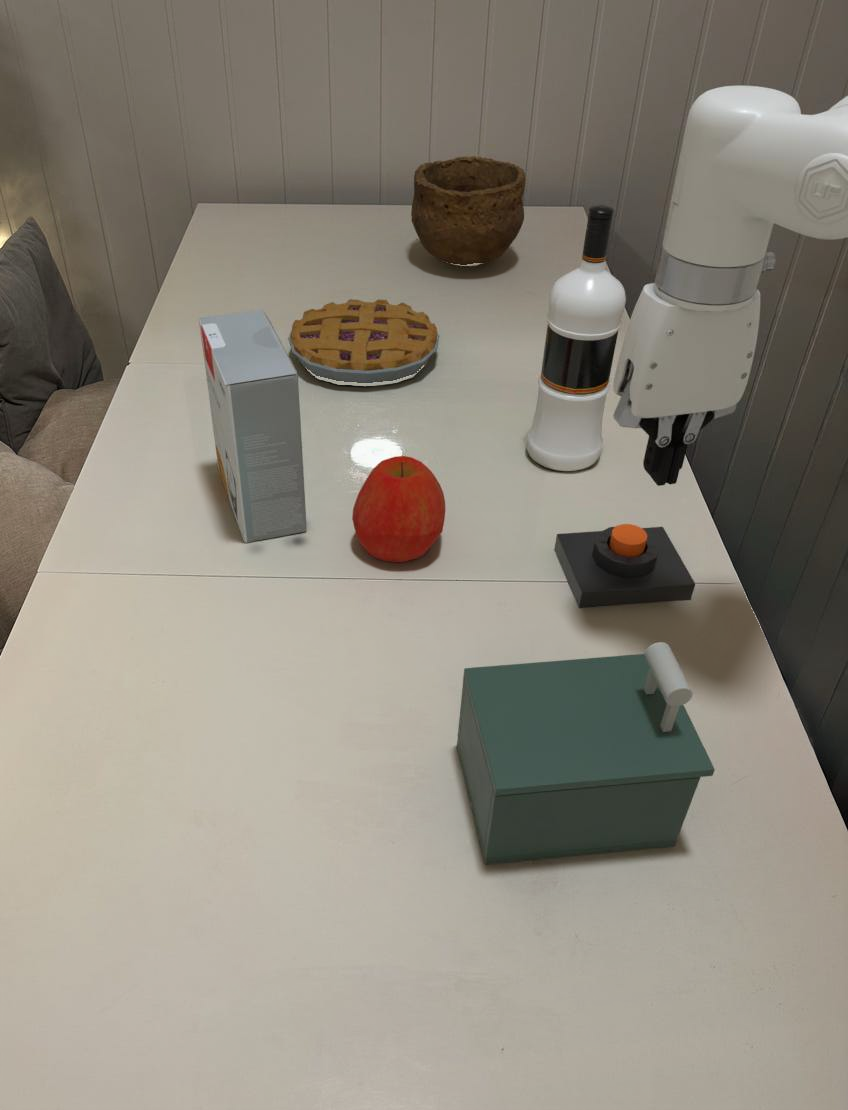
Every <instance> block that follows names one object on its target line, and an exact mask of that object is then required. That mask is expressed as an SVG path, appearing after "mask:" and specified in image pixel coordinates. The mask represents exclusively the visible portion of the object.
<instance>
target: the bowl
mask: <svg viewBox="0 0 848 1110" xmlns="http://www.w3.org/2000/svg"><path fill="white" fill-rule="evenodd" d="M413 176H414V177H413V199H412V203H411V210H410V211H411V215H410V217H411V223H412V226H413V228H414V230H415V233H416V235H417V237H418V239H419V241H420V244H421V246H422V247H423V248H424V250H425V251H426V252H427V253H428V254H429V255H431V256H432V257H434V258H435V259H437V260H439V261H441V262H443V261H444V262H443V263H446V262H448V263H447V264H449V263H453V264H460V265H467V264H473V263H485V264H488V263H490V261H491V262H494V261H495V260H497V259H499V258H500V257H502V256H503V255H504V254H505V253H506V251H507V250H508V249H509V248H510V246H511V245H512V244H513V242H514V241H515V239H516V238H517V236H518V235H519V233H520V230H521V229H522V227H523V224H524V221H525V209H524V203H523V195H524V193H525V188H526V173H525V169H523V168H522V167H521V166H519V165H516V164H514V163H511V162H509V161H499V160H495V159H493V158H487V157H482V156H475V155H472V156H457V157H455V158H452V159H447V160H444V161H443V160H435V161H433V162H431V161H429V162H424V163H422V164H420V165H419V166H418V167H417V168H416V169H415V171H414V175H413ZM487 262H488V263H487Z"/></svg>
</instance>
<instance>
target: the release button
mask: <svg viewBox="0 0 848 1110" xmlns="http://www.w3.org/2000/svg"><path fill="white" fill-rule="evenodd" d="M614 527H615V528H614V529H613V530H612V534H611V539H610V543H609V547H610V549H611V551H613V552H614V553H616V554H617V555H621V556H625V557H638V556H640V555H641V554H642V553H643V552H644V549H645V545H646V541H647V533H646V532H645V531H644V530H643V529H642V528H643V527H640V526H639V525H635V524H631V523H622V524H618V525H616V526H614Z"/></svg>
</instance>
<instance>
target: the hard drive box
mask: <svg viewBox="0 0 848 1110" xmlns="http://www.w3.org/2000/svg"><path fill="white" fill-rule="evenodd" d="M197 321H198V325H199V332H200V340H201V347H202V354H203V361H204V368H205V369H204V370H205V377H206V383H207V391H208V399H209V400H208V401H209V408H210V414H211V422H212V423H211V424H212V432H213V438H214V439H213V440H214V445H215V452H216V459H217V467H218V472H219V475H220V478H221V480H222V483H223V484H222V485H223V486H224V490H225V493H226V496H227V498H228V501H229V504H230V506H231V509H232V511H233V515H234V518H235V521H236V523H237V526H238V529H239V532H240V534H241V537H242V540H243V543H245V544H246V543H251V542H257V541H261V540H268V539H273V538H278V537H283V536H289V535H294V534H299V533H304V532H305V533H306V531H307V510H306V493H305V476H304V474H305V473H304V460H303V459H304V457H303V456H304V455H303V442H302V423H301V406H300V389H299V374H298V371H297V369H296V367H295V365H294V363H293V361H292V359H291V358H290V356H289V353H288V352H287V350H286V348H285V347H284V345H283V342H282V341H281V339H280V337H279V335H278V334H277V332H276V331H277V330H276V329H275V327H274V325H273V324H272V321H271V320H270V318H269V316H268V315H267V313H266V312H265V310H264V309H254V310H246V311H238V312H231V313H224V314H223V313H222V314H216V315H209V316H202V317H199V318H197Z"/></svg>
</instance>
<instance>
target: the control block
mask: <svg viewBox="0 0 848 1110" xmlns="http://www.w3.org/2000/svg"><path fill="white" fill-rule="evenodd" d="M615 527H616V526H609V527H607V528H605V529H604V530H603V529H602V530H596V531H595V530H594V531H581V532H580V531H579V532H566V533H556V538H555V544H554V548H553V549H554V552H555V554H556V558H557V559H558V562H559V564H560V567H561V569H562V571H563V572H562V573H563V574H564V576H565V579H566V581H567V583H568V586H569V588H570V591H571V593H572V596H573V598H574V600H575V603H576V605H577V608H578V609H587V608H588V609H589V608H601V607H611V606H612V607H613V606H627V605H638V604H639V605H640V604H654V603H666V602H676V601H677V602H680V601H691V600H692V597H693V594H694V590H695V587H696V583H695V580H694V578H693V577H692V575H691V573H690V572H689V570H688V568H687V566H686V565H685V563H684V561H683V559H682V558H681V555H680V554H679V552H678V551H677V549H676V547H675V545H674V543H673V542H672V539H671V538H670V537H669V535H668V533H667V532H666V529H665V528H664V526H653V527H652V526H651V527H641V528H642V529H643V530H644V531H645V532H646V533H647V541H646V545H645V549H644V552H643V553H642V554H641V555H640V556H638V557H625V556H621V555H617V554H616V553H614V552H613V551H611V549H610V547H609V543H610V539H611V534H612V530H613V529H614V528H615Z"/></svg>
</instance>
